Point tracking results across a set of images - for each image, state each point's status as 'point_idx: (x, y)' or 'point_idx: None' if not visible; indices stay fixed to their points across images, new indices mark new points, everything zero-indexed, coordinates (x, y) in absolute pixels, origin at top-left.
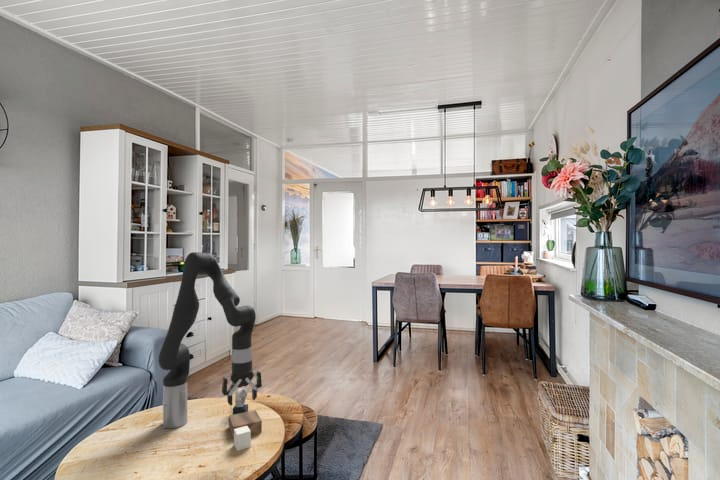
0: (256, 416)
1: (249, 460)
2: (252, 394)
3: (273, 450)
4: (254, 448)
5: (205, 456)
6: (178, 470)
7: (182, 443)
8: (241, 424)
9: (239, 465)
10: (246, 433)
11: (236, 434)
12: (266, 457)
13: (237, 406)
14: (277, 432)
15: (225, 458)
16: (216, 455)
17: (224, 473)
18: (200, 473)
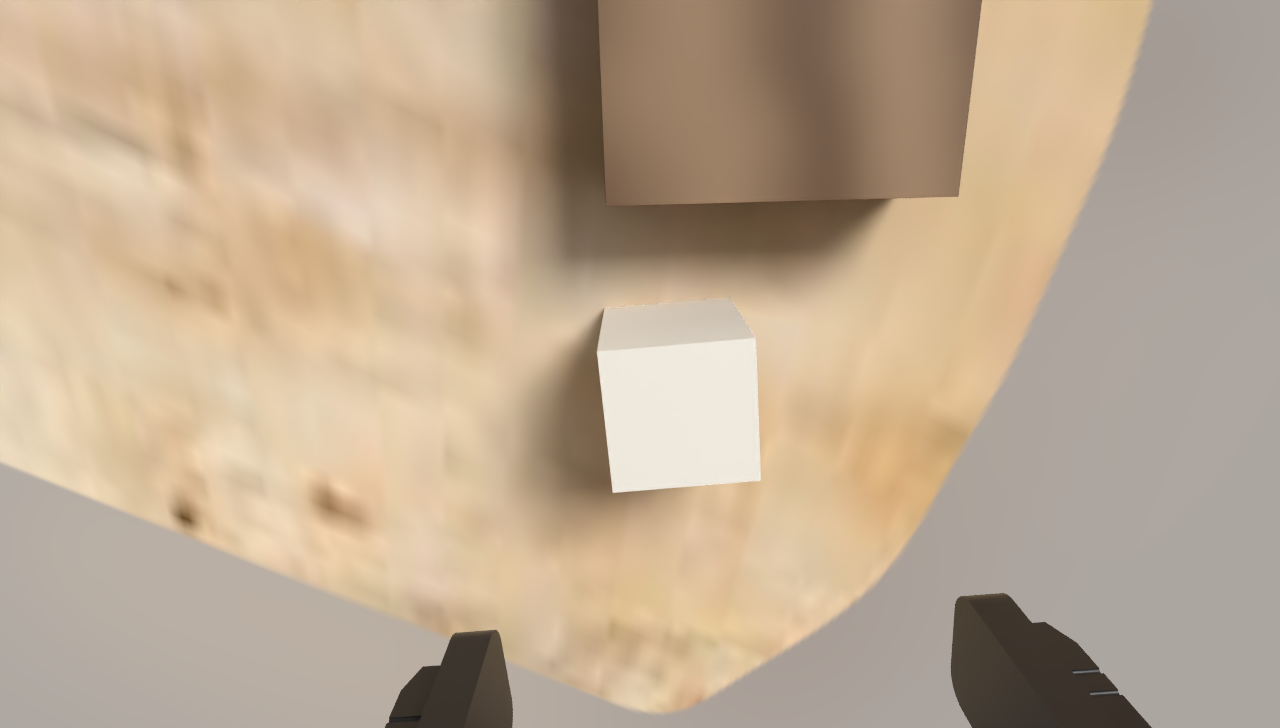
0: (943, 31)
1: (683, 588)
2: (1009, 703)
3: (886, 541)
4: None
5: (356, 391)
6: (168, 494)
7: (96, 31)
8: (709, 181)
9: (605, 615)
10: (712, 476)
11: (609, 462)
12: (807, 604)
13: None
14: (1037, 268)
15: (515, 489)
16: (446, 416)
17: None
18: (336, 594)
